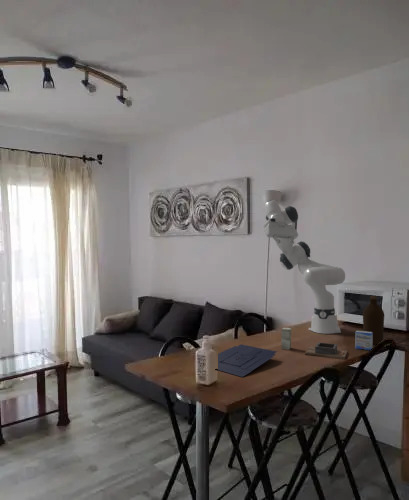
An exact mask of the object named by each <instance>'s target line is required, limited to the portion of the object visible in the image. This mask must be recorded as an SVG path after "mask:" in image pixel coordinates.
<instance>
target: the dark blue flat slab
mask: <svg viewBox="0 0 409 500" xmlns="http://www.w3.org/2000/svg"><path fill="white" fill-rule="evenodd" d="M277 352H278V351H276V350H272V349H266V348H261V347H255V346H251V345H246V344H243V343H242V344H239V345H235V346H232V347H229V348H227V349H225V350H223V351H221V352H219V353H218V370H217V371H221V372H224V373H227V374H231V375H233V376H234V375H235V376H238V377H242V378H243V377H245V376H246V375H248V374H249V373H251V372H253V371H254V370H255V369H257V368H258V367H260V366H261V365H263V364H265V363H266V362H267V361H270V360H271V359H272V358H274V357H275V356H276V353H277Z"/></svg>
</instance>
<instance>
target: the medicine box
mask: <svg viewBox="0 0 409 500" xmlns="http://www.w3.org/2000/svg"><path fill="white" fill-rule="evenodd" d="M354 335H355V337H354V338H355V339H354V340H355V341H354V342H355V343H354V345H355V346H354V348H355V349H356V350H362V349H364V350H363V351H372V350H373V349H372V348H374V347H373V346H374V345H373V332H367V331H364V330H356V331H355V334H354ZM371 349H372V350H371Z"/></svg>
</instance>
